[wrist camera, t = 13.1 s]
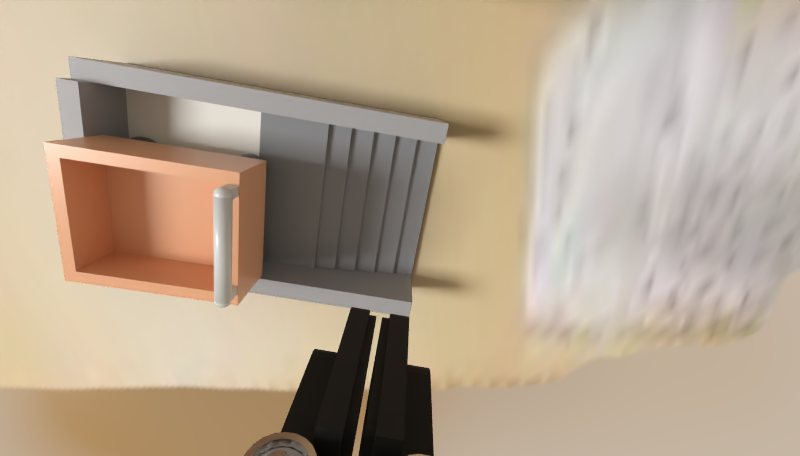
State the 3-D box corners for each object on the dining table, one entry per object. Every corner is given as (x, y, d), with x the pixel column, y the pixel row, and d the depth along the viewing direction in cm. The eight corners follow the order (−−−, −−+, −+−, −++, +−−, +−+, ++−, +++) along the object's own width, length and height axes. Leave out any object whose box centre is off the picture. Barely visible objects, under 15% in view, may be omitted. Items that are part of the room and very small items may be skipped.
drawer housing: (442, 119, 26) (450, 125, 21) (408, 286, 31) (409, 325, 26) (124, 63, 25) (52, 54, 20) (137, 243, 30) (80, 274, 25)
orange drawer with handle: (280, 155, 26) (228, 179, 18) (275, 261, 28) (227, 320, 21) (130, 131, 25) (13, 145, 18) (139, 240, 28) (40, 293, 20)
